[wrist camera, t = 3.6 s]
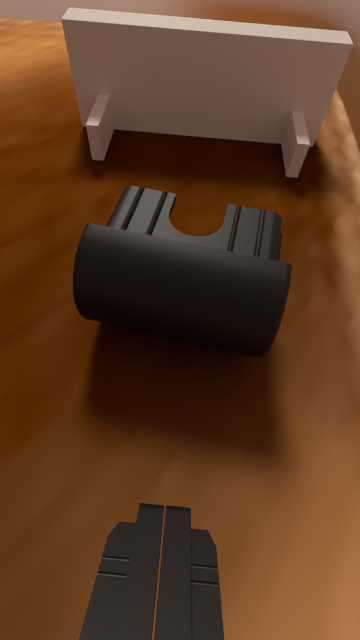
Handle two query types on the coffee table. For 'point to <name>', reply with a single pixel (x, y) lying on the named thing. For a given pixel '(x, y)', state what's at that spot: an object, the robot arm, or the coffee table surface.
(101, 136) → the white board with feet
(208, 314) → the end cap
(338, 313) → the coffee table surface
